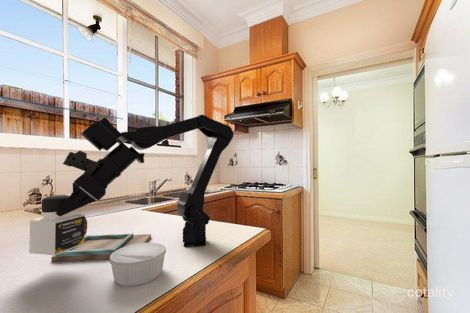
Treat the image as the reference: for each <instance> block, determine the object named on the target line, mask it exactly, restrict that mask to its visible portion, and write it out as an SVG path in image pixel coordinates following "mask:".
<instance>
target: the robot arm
mask: <svg viewBox="0 0 470 313" xmlns="http://www.w3.org/2000/svg"><path fill="white" fill-rule="evenodd" d="M196 130H198V131H200V132H201V133H202V135H204V136H205V137H208V139H207V150H206V152H205V153H204V154H205V155H204V156H203V158H202V160H201V163H200V165H199V167H198V170H197V172H196V174H195V177H194V179H193V182H192V184H191V186H190V188H188V190H187V191H184V190H182V191H181V193H180V196H179V198H178V200H177V201H176V204H177V206H176V211H177V213H178V215H179V216H181V217H182V219H183V221H184V226H183V228H182V243H183V247H199V246H203V247H204V246H206V245H207V232H206V231H207V228H206V227H207V225H208V224H209V222H210V219H211V218H210V216H209V215H208V214H207V212H205V211H204V206H205V193H206V190H207V187H208V186H209V183H210V180H211V179H212V175H213V173H214V172H215V168H216V167H217V164H218V161H219V159H220V156H221V154H222V153H223V151H224V150H226V148H228V146H230V144H231V142H232V140H233V139H234V134H235V133H234V131H233V128H232V127H231V126H230V125H228V124H224V123H223V122H221V121H218V120H215V119H212V118H210V117H209V116H207V115H205V114H199V115H197V116H195V117H194V116H193V117H191V118H187V119H183V120H181V121H180V120H179V121H176V122H173V123H170V124H166V125H151V126H142V127H138V128H137V129H136V130H135V131H134V130H133V131H121V132H120V131H119V130H118V129H117V128H116V127H115V126H114V125H113V124H112V123H111V122H110V121H109V120H108V118H106V117H103V118H102V119H100V120H98V121H96V122H95V123H92V124H91V125H89V126H87V127H86V129H84V131H82V132H81V134H80V135H81V136H82V137H83V138H84V139H86V141H88V142H89V143H90V144H91V145H93V147H95V148H96V149H97V150H98V151H99V152H101V151H102V150H103V151H106V152H108V151H109V150H110V152H108V153H107V154H106V155H105V156H104V157H103V158H100V159H98V160H97V161H95V160H93V159H90V158H88V155H87V154H88V153H87V152H84V151H82V150H79V151H76V152H75V153H74V152H72V151H69V152H68V154H67V156H66V157H65V159H64V161H63V162H62V165H65V166H66V167H67V166H68V167H73V168H75V169H78V170H81V171H84V172H83V173H82V174H81V175H80V176H79V177H77V178H76V179H75V180H73V182H72V192H71V194H69V195H70V196H69V198H68V199H67V200H66V201H65V203H64V204H63V205H62V206H61V208H60V209H59V210H58V211H57V212H56V214H57V215H58V216H62V215H65V214H67V213H69V212H71V211H74V210H75V211H76V210H78V209H80V208H83V207H85V206H87V205H89V204H92V203H95V202H97V201H100V200H101V199H102V198H103V197H104V196H106V195H107V194H106V192H107V190H106V189H107V188H108V187H109V186H110V184H112V182H114V181H115V180H116V179H117V178H119V177H120V176H121V175H122V173H123V172H124V171H125V170H126V169H127V168H129V167H130V166H131V165H132V164H133V163H134V162H135V161H137V162H138V163H139V164H144V163H145V153H140V152H138V151H137V150H139V151H144V150H147V149H150V148H151V147H154V146H155V145H157V144H159V143H161V142H163V141H164V140H166V139H169V138H172V137H176V136H178V135H182V134H186V133H188V132H192V131H196ZM116 144H118V145H117V146H116V147H114V146H115V145H116ZM126 144H127V145H130V147H129V146H127V145H126ZM113 147H114V148H113ZM111 148H113V149H112V150H111Z"/></svg>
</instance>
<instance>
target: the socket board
mask: <svg viewBox="0 0 470 313" xmlns="http://www.w3.org/2000/svg"><path fill="white" fill-rule="evenodd" d="M151 239H152V234H151V233H148V234H147V233H146V234H143V233H142V234H134V233H114V234H111V233H110V234H94V235H93V234H91V235H89V234H88V235H87V234H86V235H85V236H84V244H83V245H80V246H78V247H75V248H73V249H70V250H68V251H65V252H63V253H60V254H58V255H51V258H50V259H51V260H50V262H51V263H53V262H54V263H55V262H58V263H59V262H71V261H72V262H73V261H91V260H92V261H93V260H95V261H96V260H110V256H111V254H112V253H113V252H115V251H117V250H118V249H120V248H123V247H126V246H129V245H133V244H138V243H149V241H150V240H151Z"/></svg>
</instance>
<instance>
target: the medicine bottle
mask: <svg viewBox="0 0 470 313" xmlns="http://www.w3.org/2000/svg"><path fill="white" fill-rule="evenodd" d="M70 195H71V194H56V195H47V196H46V197H44V198H42V200H41V216H42V217H40V218H35V219H30V221H29V249H28V250H29V254H31V255H32V254H34V255H35V254H36V255H44V256H45V255H46V256H48V255H49V256H54V255H58V254H60V253H63V252H65V251H68V250H70V249H73V248H75V247H78V246H80V245H83V244H84V237H85V236H84V231H85V218H86V216H85V214H84V213H76V210H74V211H71V212H69V213H67V214H65V215H62V216H58V215H57V214H56V212H57V211H58V210H59V209H60V208H61V206H62V205H63V204H64V203H65V201H66V200H67V199H68V198H69V196H70Z"/></svg>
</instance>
